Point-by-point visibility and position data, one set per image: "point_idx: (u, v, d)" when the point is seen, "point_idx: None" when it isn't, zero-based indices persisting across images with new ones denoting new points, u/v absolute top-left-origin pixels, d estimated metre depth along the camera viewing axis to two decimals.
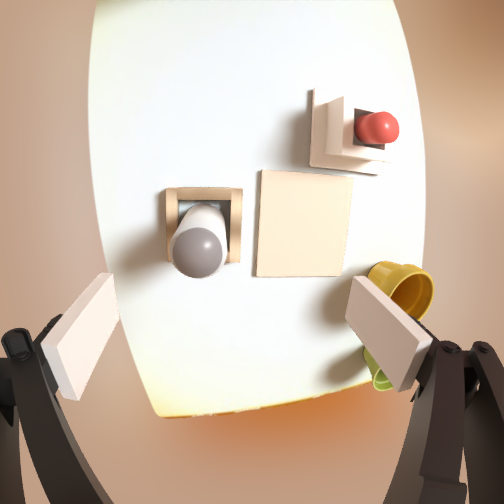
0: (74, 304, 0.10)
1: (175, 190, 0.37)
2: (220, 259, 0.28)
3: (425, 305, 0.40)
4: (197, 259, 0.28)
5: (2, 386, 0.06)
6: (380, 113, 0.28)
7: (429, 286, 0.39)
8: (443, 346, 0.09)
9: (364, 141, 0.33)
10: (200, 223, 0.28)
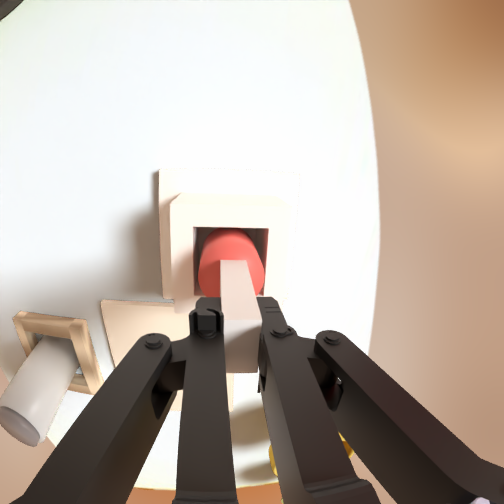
0: (223, 286, 0.13)
1: (20, 321, 0.24)
2: (35, 440, 0.15)
3: None
4: (18, 433, 0.15)
5: (178, 370, 0.09)
6: (217, 252, 0.17)
7: None
8: (271, 332, 0.10)
9: None
10: (8, 405, 0.15)
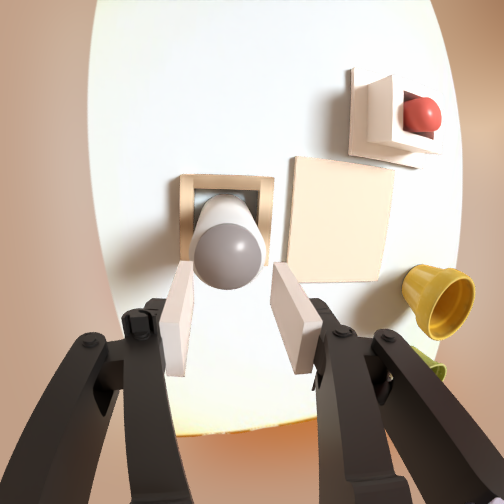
0: (173, 287, 0.13)
1: (192, 177, 0.30)
2: (258, 265, 0.22)
3: (464, 312, 0.33)
4: (227, 265, 0.21)
5: (113, 370, 0.08)
6: (424, 99, 0.23)
7: (470, 292, 0.32)
8: (333, 331, 0.10)
9: (404, 129, 0.28)
10: (231, 217, 0.21)
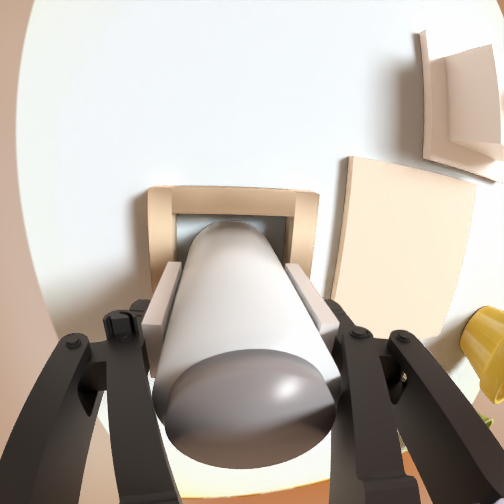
0: (158, 288, 0.12)
1: (169, 192, 0.16)
2: (325, 432, 0.07)
3: None
4: (252, 441, 0.07)
5: (96, 370, 0.08)
6: None
7: None
8: (350, 332, 0.10)
9: None
10: (261, 335, 0.07)
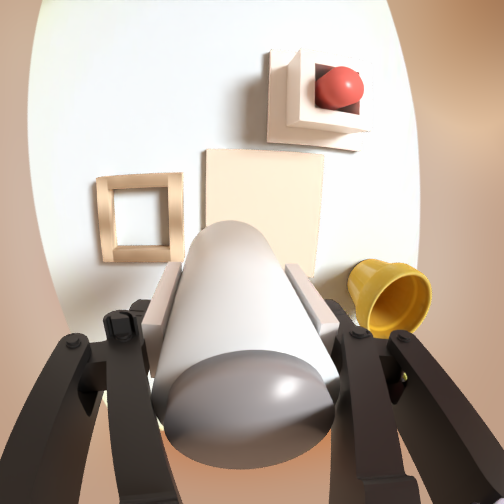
0: (158, 288, 0.12)
1: (106, 178, 0.29)
2: (324, 432, 0.07)
3: (420, 313, 0.32)
4: (251, 442, 0.07)
5: (96, 370, 0.08)
6: (337, 68, 0.22)
7: (426, 290, 0.31)
8: (350, 332, 0.10)
9: (323, 106, 0.27)
10: (260, 336, 0.07)
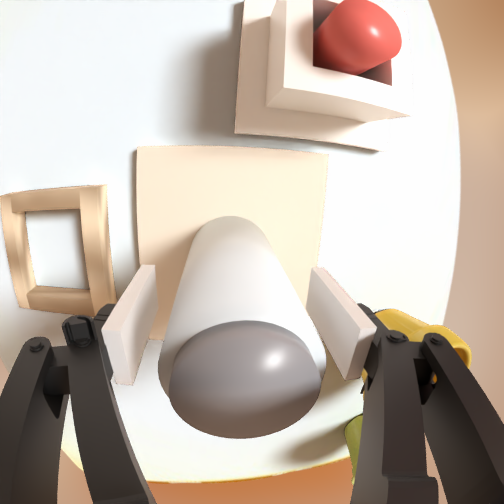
0: (125, 293, 0.12)
1: (9, 197, 0.17)
2: (312, 401, 0.09)
3: None
4: (246, 408, 0.09)
5: (57, 375, 0.07)
6: (353, 1, 0.09)
7: (463, 360, 0.18)
8: (387, 336, 0.10)
9: None
10: (253, 308, 0.08)
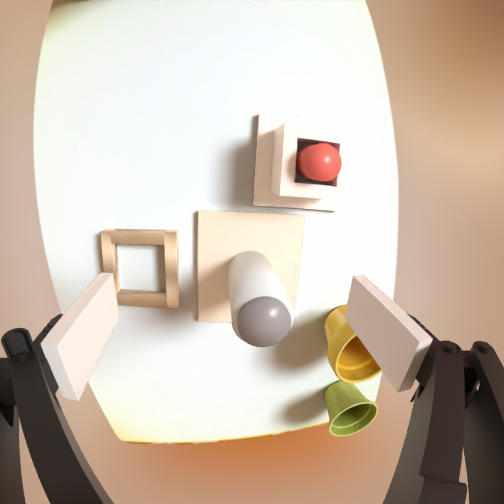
0: (74, 304, 0.10)
1: (109, 234, 0.34)
2: (288, 328, 0.26)
3: None
4: (264, 329, 0.26)
5: (2, 386, 0.06)
6: (317, 146, 0.27)
7: None
8: (443, 346, 0.09)
9: (304, 177, 0.32)
10: (267, 291, 0.26)
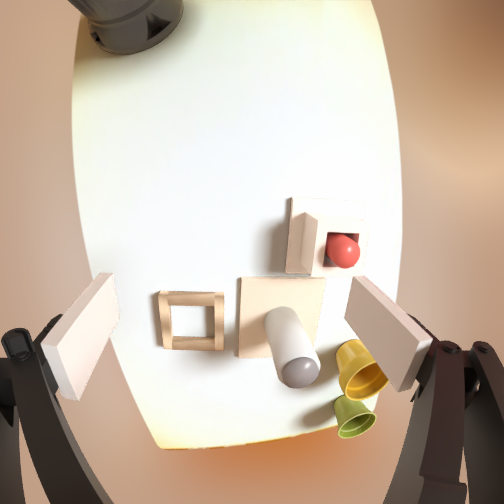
0: (74, 304, 0.10)
1: (166, 297, 0.43)
2: (317, 376, 0.35)
3: (384, 380, 0.46)
4: (300, 378, 0.35)
5: (2, 386, 0.06)
6: (343, 243, 0.36)
7: None
8: (443, 346, 0.09)
9: None
10: (303, 354, 0.35)
